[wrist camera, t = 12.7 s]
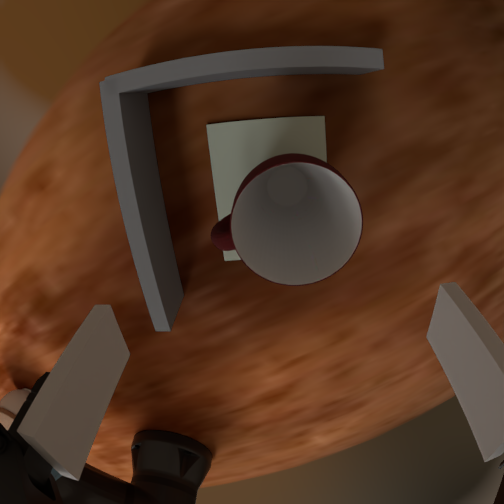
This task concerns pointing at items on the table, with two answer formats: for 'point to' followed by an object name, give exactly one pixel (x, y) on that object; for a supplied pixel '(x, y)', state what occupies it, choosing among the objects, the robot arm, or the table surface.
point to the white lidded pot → (12, 405)
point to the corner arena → (220, 146)
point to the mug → (292, 220)
